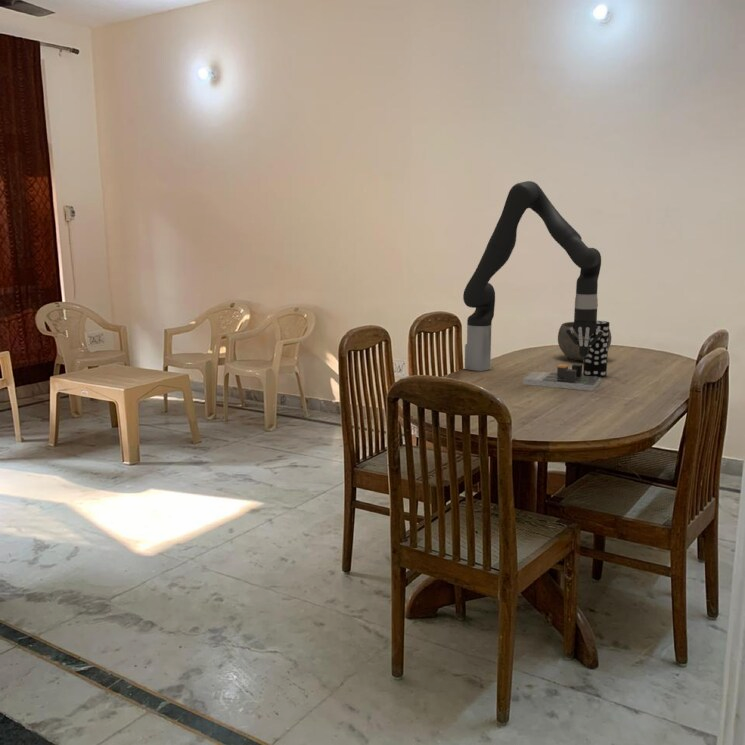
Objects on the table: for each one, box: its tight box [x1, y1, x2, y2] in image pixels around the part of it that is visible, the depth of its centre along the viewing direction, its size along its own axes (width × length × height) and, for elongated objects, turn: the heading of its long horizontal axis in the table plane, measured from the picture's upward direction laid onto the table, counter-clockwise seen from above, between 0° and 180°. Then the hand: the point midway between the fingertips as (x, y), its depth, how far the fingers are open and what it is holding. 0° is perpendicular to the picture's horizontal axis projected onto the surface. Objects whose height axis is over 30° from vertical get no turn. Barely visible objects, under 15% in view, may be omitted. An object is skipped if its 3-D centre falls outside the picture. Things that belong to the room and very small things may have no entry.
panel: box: [522, 363, 602, 392], centre depth 271 cm, size 24×14×6 cm, turn 64°
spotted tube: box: [582, 320, 610, 379], centre depth 282 cm, size 8×8×20 cm
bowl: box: [557, 321, 612, 362], centre depth 313 cm, size 21×21×15 cm
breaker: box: [556, 364, 569, 378], centre depth 271 cm, size 3×3×4 cm
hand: (583, 356), depth 266 cm, fingers closed
